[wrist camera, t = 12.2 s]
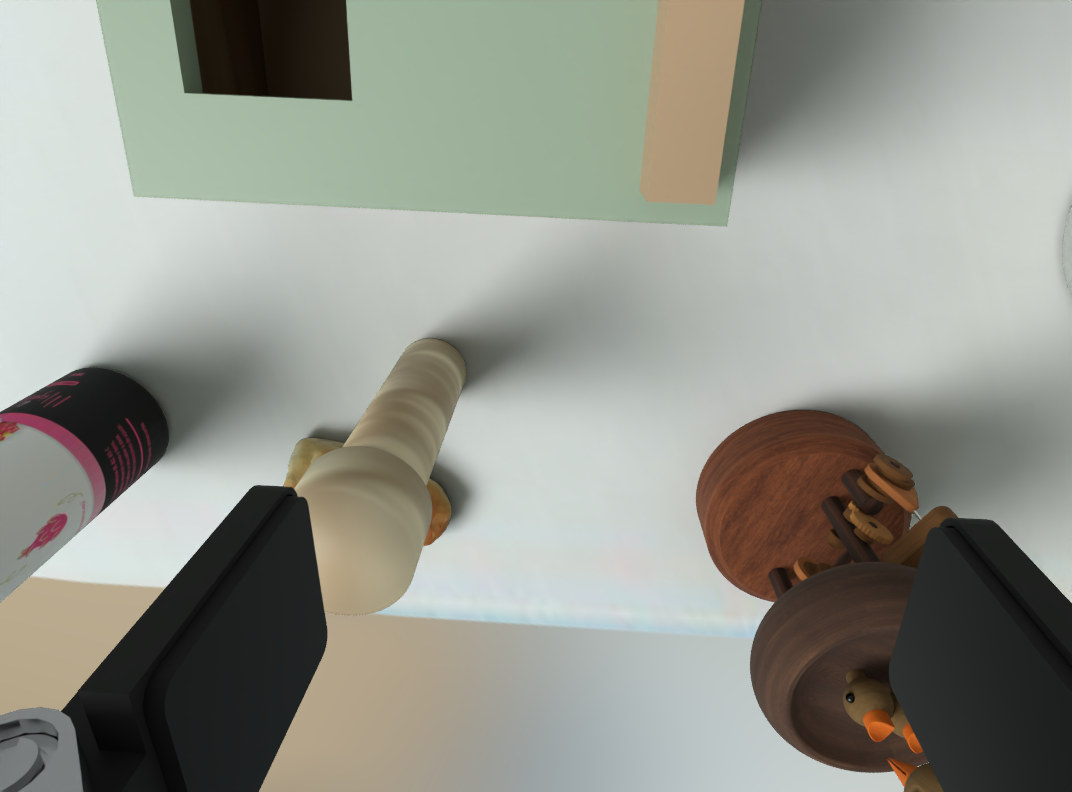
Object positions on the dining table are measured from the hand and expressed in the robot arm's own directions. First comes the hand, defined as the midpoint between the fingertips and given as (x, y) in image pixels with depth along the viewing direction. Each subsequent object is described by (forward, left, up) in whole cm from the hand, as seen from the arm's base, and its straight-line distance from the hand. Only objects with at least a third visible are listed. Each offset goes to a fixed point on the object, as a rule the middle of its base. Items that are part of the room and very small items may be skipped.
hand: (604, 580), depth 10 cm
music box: (-12, +14, -25) cm, 31 cm away
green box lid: (+6, -9, -16) cm, 19 cm away
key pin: (+7, +7, -25) cm, 27 cm away
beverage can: (+26, +11, -25) cm, 38 cm away
